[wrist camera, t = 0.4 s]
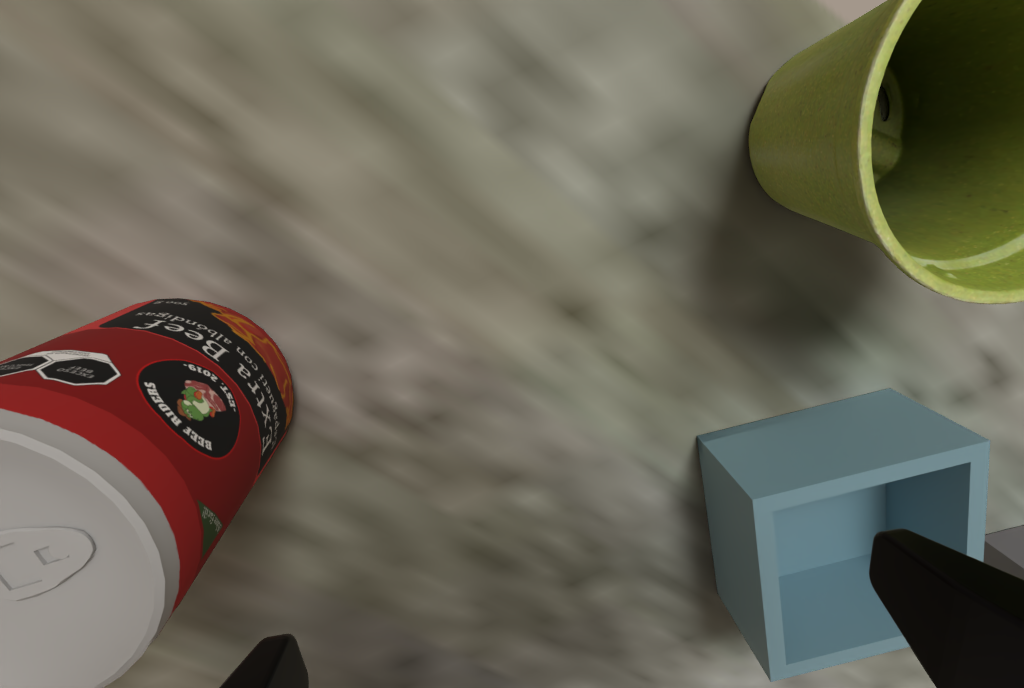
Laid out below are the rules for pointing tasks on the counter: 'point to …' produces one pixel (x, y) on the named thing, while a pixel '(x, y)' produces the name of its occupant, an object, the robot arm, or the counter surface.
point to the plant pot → (909, 140)
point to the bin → (833, 519)
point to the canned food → (124, 479)
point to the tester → (1006, 550)
